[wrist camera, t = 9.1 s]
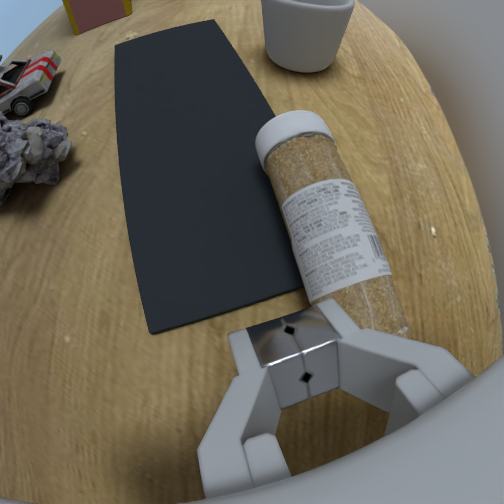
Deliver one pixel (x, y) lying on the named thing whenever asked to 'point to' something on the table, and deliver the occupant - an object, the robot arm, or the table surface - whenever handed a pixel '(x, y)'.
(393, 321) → the sprinkles bottle
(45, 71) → the toy car
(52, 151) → the mineral specimen
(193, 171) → the mat
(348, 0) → the cup
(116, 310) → the table surface
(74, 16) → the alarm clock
